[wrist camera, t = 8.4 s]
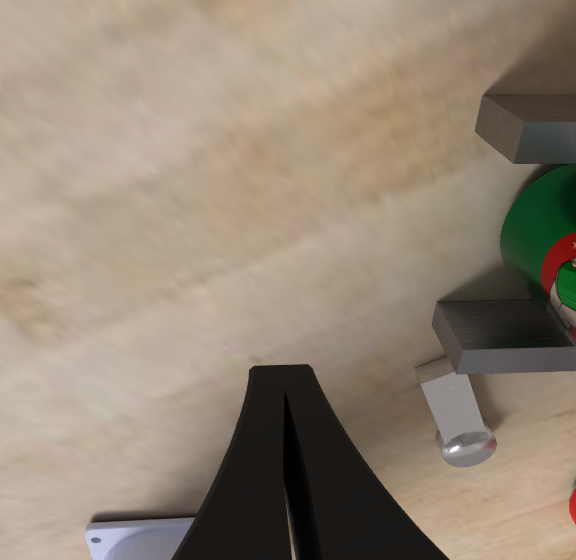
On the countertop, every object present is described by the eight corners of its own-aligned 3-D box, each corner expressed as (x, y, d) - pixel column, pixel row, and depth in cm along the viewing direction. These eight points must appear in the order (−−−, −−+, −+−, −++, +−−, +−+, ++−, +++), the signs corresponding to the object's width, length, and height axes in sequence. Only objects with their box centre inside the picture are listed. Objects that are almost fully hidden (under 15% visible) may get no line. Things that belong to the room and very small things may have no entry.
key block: (492, 440, 26) (501, 456, 26) (443, 456, 27) (449, 473, 26) (463, 350, 23) (472, 365, 22) (407, 370, 23) (413, 386, 23)
